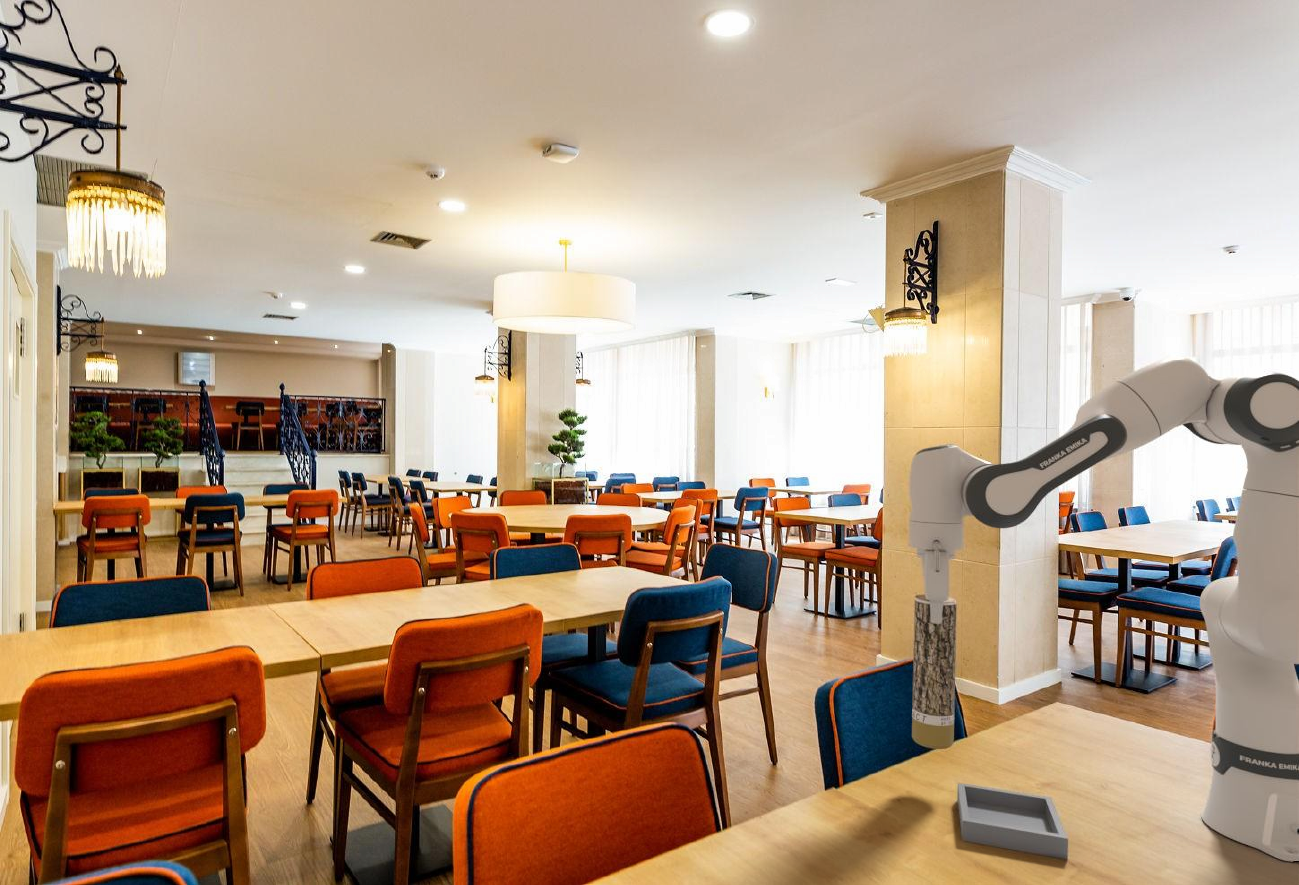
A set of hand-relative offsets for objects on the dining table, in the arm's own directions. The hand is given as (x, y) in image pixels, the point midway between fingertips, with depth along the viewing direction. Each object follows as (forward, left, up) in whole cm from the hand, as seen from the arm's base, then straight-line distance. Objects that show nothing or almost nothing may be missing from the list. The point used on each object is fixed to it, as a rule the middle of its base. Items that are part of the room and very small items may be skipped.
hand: (935, 617), depth 130 cm
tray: (-11, +10, -30) cm, 33 cm away
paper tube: (0, 0, -22) cm, 22 cm away
